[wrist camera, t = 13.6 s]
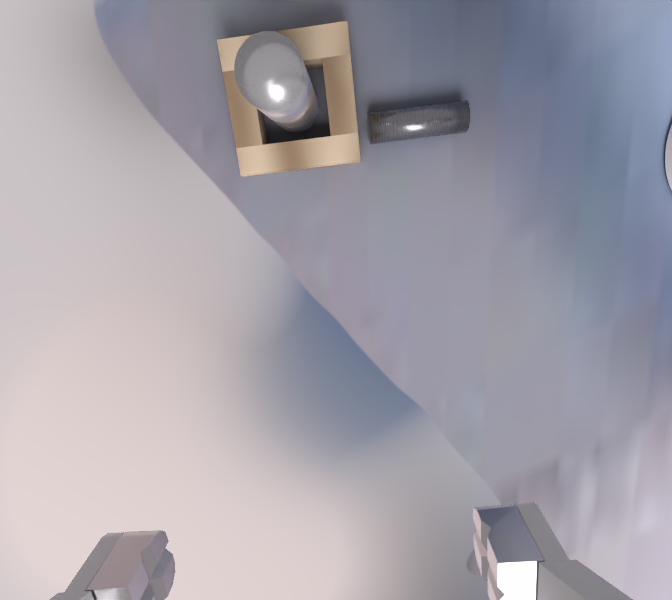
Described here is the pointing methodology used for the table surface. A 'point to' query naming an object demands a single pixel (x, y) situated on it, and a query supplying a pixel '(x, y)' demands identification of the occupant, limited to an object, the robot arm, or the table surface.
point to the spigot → (276, 80)
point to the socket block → (343, 145)
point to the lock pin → (418, 122)
